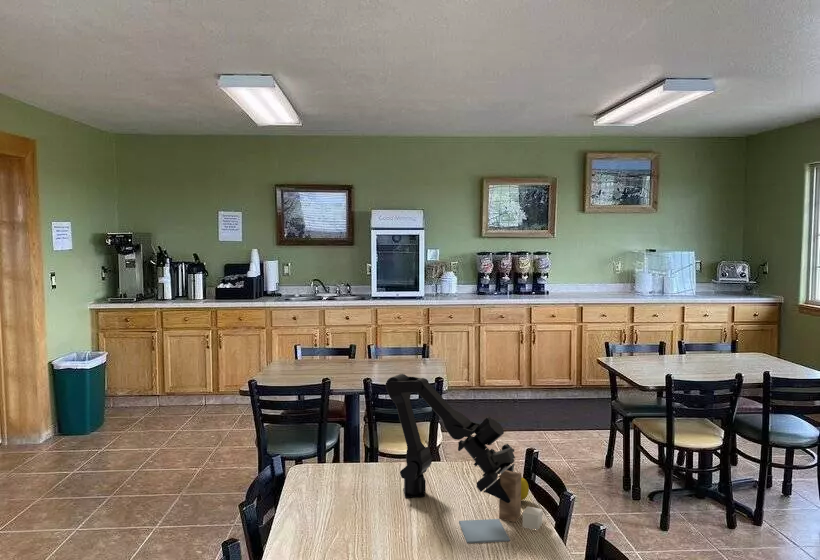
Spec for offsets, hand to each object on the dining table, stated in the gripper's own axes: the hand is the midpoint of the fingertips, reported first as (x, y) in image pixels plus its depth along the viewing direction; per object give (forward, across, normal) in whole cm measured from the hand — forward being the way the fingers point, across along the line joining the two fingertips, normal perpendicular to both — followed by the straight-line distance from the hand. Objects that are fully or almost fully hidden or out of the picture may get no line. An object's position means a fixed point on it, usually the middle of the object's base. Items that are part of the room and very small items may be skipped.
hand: (514, 496), depth 172 cm
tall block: (+4, 0, +6) cm, 7 cm away
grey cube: (+9, -2, 0) cm, 9 cm away
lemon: (+3, +12, +6) cm, 14 cm away
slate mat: (+1, -12, +8) cm, 15 cm away
